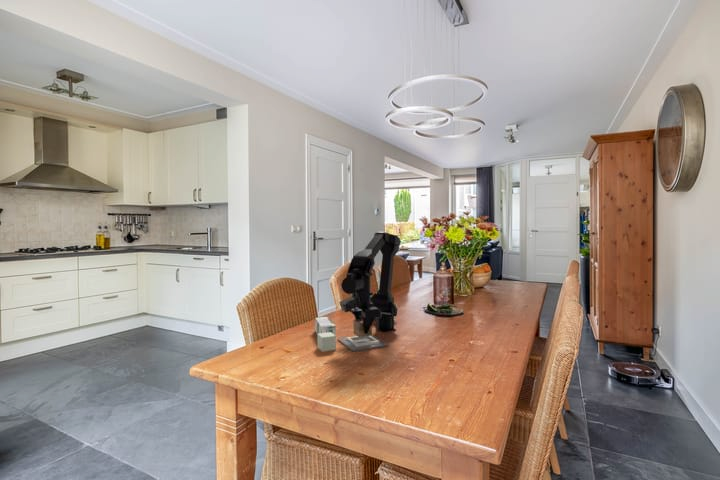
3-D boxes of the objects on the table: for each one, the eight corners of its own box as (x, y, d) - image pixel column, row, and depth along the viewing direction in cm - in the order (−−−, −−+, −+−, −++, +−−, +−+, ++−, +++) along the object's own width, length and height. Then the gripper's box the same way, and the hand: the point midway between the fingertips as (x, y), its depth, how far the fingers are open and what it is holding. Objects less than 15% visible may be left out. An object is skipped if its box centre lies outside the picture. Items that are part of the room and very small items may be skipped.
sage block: (330, 345, 135) (330, 332, 135) (335, 349, 131) (335, 335, 131) (317, 347, 133) (317, 333, 133) (322, 352, 129) (322, 337, 129)
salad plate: (445, 306, 200) (445, 298, 200) (472, 313, 185) (472, 304, 185) (417, 311, 189) (417, 302, 189) (443, 319, 174) (444, 309, 174)
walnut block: (365, 331, 141) (365, 318, 141) (371, 335, 137) (371, 321, 136) (353, 333, 139) (353, 320, 139) (359, 337, 135) (359, 323, 134)
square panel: (371, 335, 147) (371, 332, 147) (388, 346, 135) (388, 342, 134) (337, 340, 141) (337, 336, 141) (352, 351, 129) (352, 347, 129)
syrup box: (328, 330, 155) (336, 340, 141) (314, 331, 153) (321, 342, 139) (328, 316, 155) (336, 325, 141) (314, 317, 153) (321, 326, 139)
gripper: (332, 287, 142) (333, 328, 143) (352, 295, 125) (352, 341, 126) (359, 285, 147) (359, 324, 148) (382, 292, 130) (382, 337, 131)
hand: (362, 331), depth 138 cm, fingers closed on walnut block, 5 cm apart
